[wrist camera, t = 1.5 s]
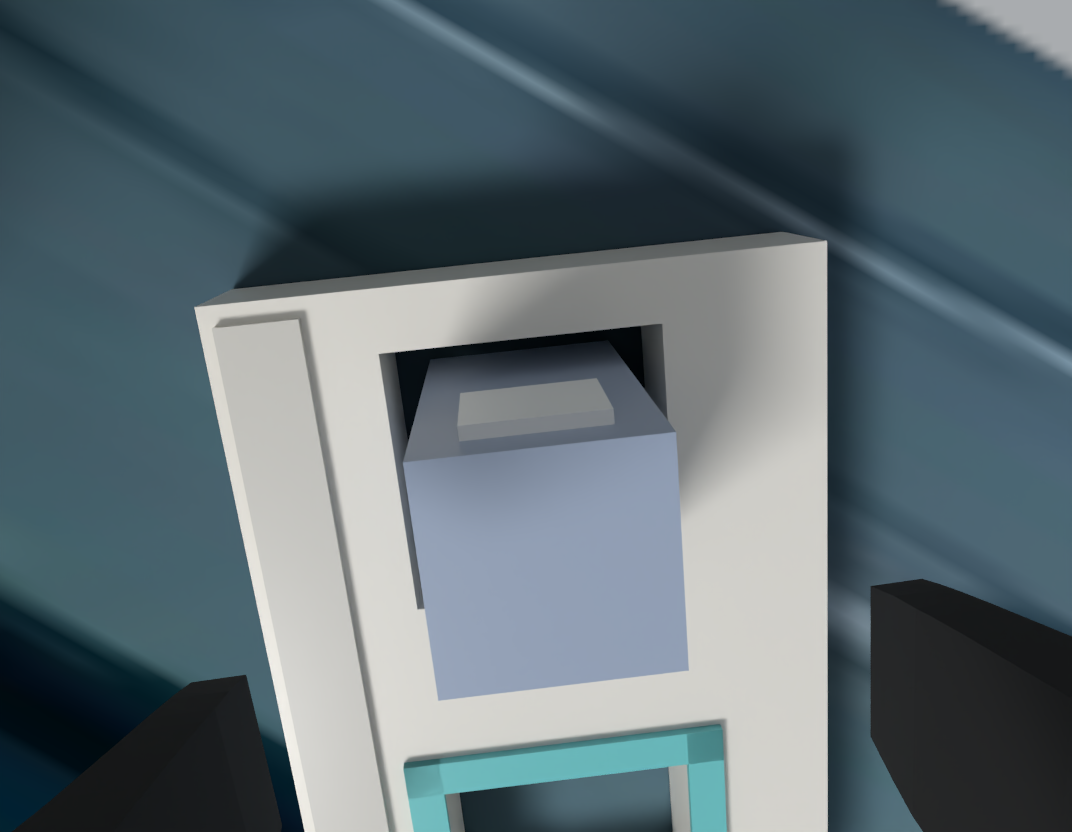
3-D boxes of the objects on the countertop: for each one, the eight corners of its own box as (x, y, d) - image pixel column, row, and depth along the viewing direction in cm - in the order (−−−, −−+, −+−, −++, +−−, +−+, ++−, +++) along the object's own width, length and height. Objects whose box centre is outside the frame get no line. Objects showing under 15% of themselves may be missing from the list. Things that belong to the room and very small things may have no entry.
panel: (782, 231, 19) (830, 241, 16) (792, 889, 24) (831, 977, 21) (231, 289, 18) (190, 308, 16) (361, 945, 23) (346, 1041, 21)
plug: (607, 329, 19) (675, 415, 12) (620, 505, 20) (688, 670, 14) (428, 348, 19) (400, 446, 12) (452, 524, 20) (438, 701, 14)
